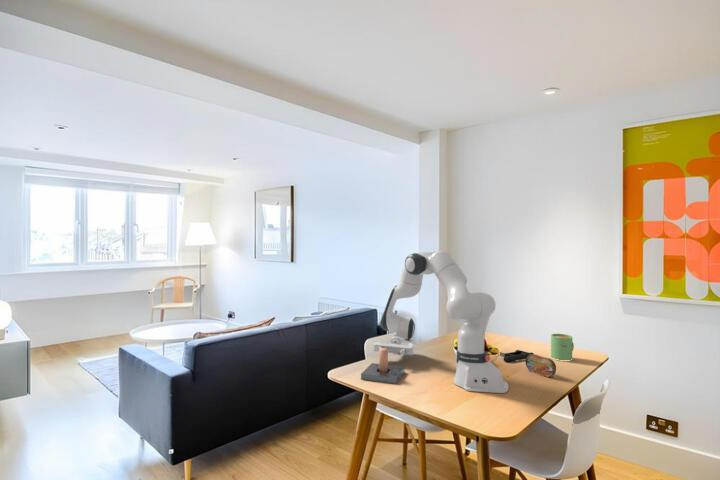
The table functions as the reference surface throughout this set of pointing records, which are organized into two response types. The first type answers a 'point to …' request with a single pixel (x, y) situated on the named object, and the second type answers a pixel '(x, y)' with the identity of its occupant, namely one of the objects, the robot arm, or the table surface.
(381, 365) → the pin
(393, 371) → the socket plate
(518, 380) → the table surface
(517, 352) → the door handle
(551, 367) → the tin
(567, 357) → the mug
